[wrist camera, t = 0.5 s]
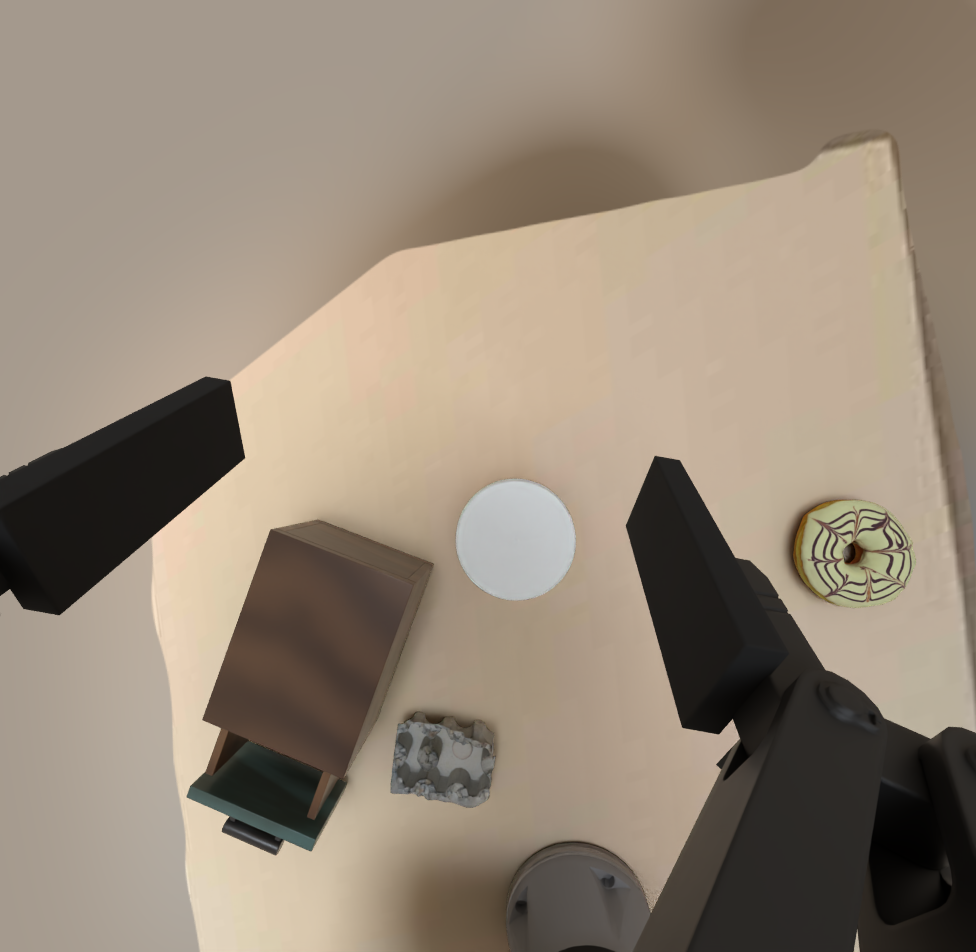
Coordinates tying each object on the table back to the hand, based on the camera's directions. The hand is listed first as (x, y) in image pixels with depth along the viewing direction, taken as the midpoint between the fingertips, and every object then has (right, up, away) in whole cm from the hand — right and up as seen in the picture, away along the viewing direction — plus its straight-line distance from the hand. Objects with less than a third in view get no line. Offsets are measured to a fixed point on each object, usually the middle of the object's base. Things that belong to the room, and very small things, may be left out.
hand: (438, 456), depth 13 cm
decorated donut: (+38, -8, +31) cm, 50 cm away
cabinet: (-14, -17, +35) cm, 41 cm away
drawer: (-18, -27, +34) cm, 47 cm away
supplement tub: (+4, -6, +34) cm, 34 cm away
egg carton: (-3, -31, +34) cm, 46 cm away
